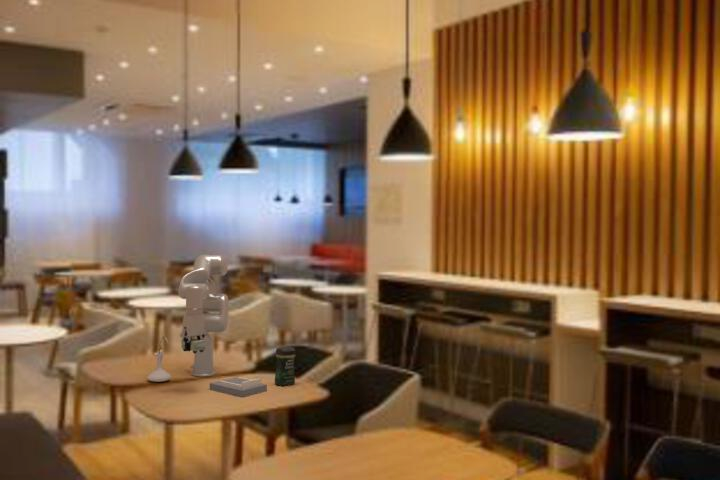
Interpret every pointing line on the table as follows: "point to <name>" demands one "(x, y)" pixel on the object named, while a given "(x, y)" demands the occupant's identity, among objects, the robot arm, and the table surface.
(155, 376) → the flower in vase
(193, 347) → the cart
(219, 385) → the dock
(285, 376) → the coffee jar
